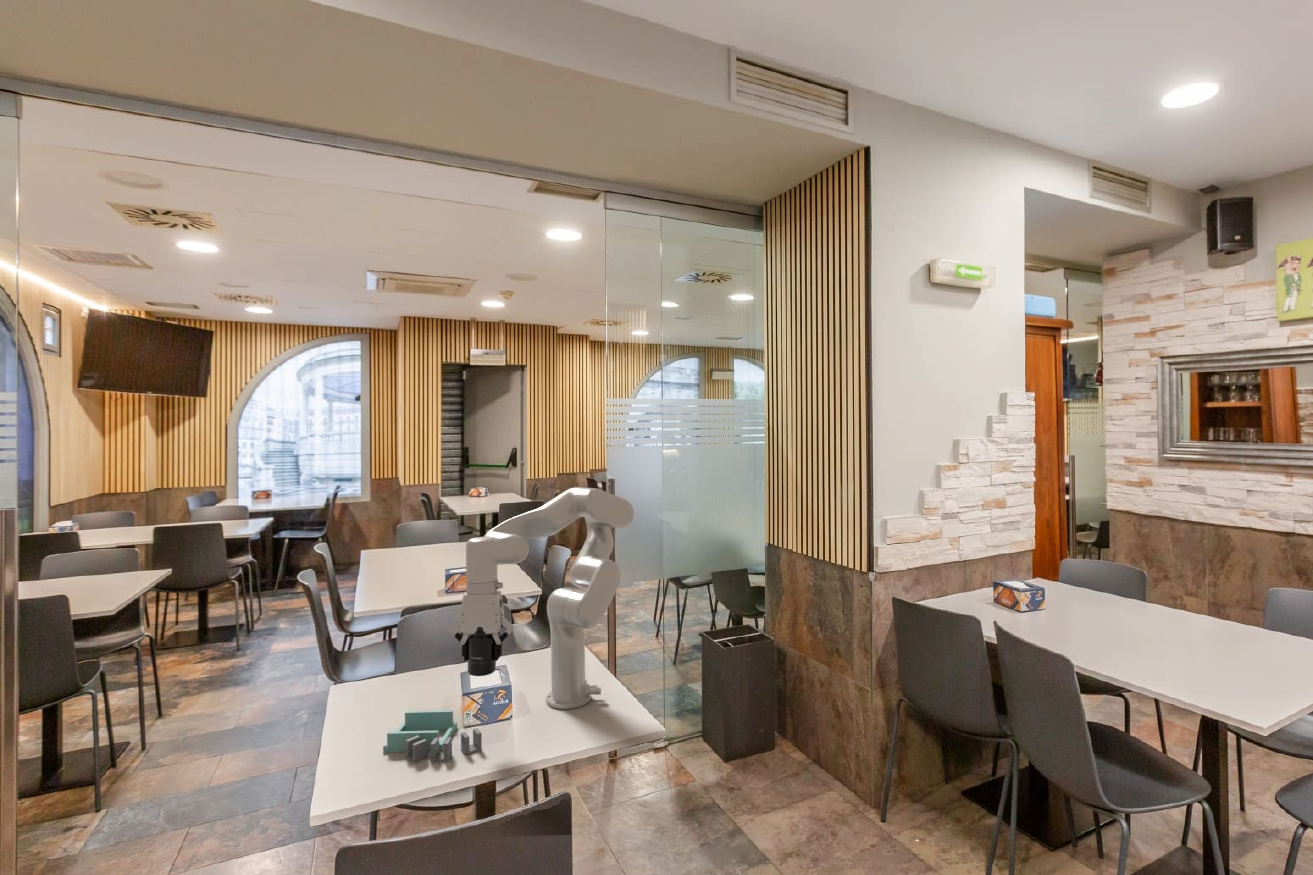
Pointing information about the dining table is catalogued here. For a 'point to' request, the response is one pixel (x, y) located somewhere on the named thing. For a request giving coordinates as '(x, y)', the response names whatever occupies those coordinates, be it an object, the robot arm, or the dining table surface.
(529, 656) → the dining table surface
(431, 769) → the dining table surface
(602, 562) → the robot arm
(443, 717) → the end holder
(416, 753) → the clip
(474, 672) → the supplement bottle
